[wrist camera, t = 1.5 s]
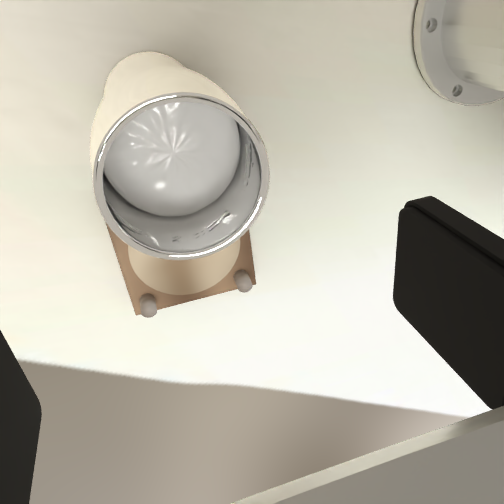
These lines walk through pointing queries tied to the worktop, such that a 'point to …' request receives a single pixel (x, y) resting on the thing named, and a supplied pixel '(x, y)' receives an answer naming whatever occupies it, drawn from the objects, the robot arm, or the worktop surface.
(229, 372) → the worktop surface
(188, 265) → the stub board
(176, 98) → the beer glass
